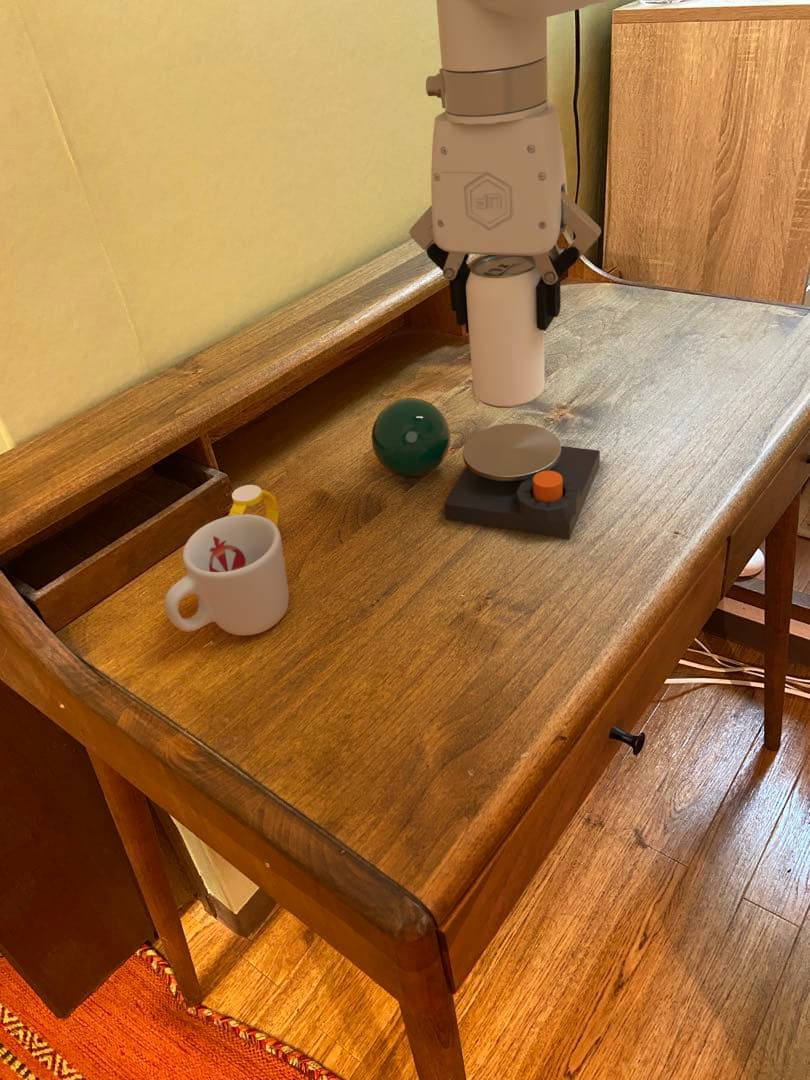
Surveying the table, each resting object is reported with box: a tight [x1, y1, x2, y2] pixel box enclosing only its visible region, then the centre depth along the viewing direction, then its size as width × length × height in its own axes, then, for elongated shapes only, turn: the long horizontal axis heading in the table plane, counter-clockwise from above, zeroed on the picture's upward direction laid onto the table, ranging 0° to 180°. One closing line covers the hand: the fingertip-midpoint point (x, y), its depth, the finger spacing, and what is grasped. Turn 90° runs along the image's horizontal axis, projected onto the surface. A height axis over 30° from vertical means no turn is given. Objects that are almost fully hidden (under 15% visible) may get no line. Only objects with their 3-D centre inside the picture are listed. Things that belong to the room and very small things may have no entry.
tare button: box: [533, 471, 563, 502], centre depth 74 cm, size 3×3×2 cm
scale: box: [443, 445, 601, 540], centre depth 79 cm, size 12×13×4 cm
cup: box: [164, 513, 290, 636], centre depth 68 cm, size 11×8×8 cm
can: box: [466, 255, 545, 409], centre depth 72 cm, size 6×6×12 cm
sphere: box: [371, 397, 451, 479], centre depth 83 cm, size 8×8×8 cm
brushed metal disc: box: [462, 422, 562, 481], centre depth 79 cm, size 9×9×1 cm
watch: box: [228, 484, 280, 527], centre depth 77 cm, size 6×3×6 cm, turn 151°
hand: (505, 319), depth 71 cm, fingers closed on can, 6 cm apart
